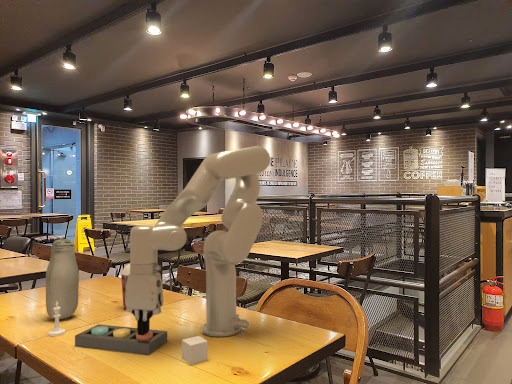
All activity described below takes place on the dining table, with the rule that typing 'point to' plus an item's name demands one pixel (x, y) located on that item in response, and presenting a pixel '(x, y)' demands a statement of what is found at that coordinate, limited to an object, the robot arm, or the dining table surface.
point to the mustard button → (121, 333)
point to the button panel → (121, 341)
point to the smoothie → (125, 281)
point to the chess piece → (56, 323)
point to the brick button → (145, 336)
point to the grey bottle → (62, 279)
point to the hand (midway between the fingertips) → (143, 333)
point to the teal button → (99, 330)
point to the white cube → (194, 350)
